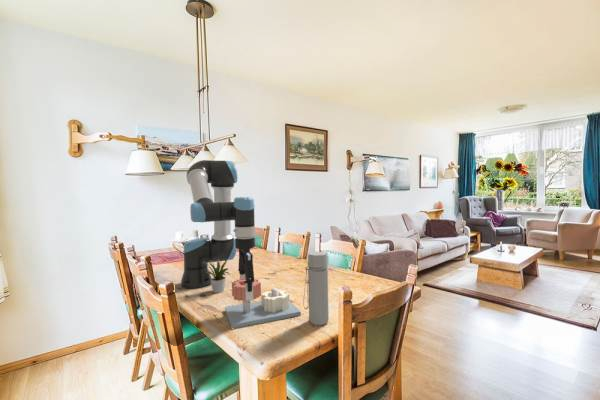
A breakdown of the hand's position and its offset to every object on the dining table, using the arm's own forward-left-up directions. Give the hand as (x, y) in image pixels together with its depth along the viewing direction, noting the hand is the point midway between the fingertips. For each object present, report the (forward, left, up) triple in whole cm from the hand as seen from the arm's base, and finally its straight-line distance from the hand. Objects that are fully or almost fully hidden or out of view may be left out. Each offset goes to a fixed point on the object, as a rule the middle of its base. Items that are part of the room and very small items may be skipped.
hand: (246, 295), depth 110 cm
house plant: (-33, -8, -8) cm, 35 cm away
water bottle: (+16, +22, -8) cm, 28 cm away
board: (0, +6, -8) cm, 10 cm away
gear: (0, 0, 0) cm, 0 cm away
